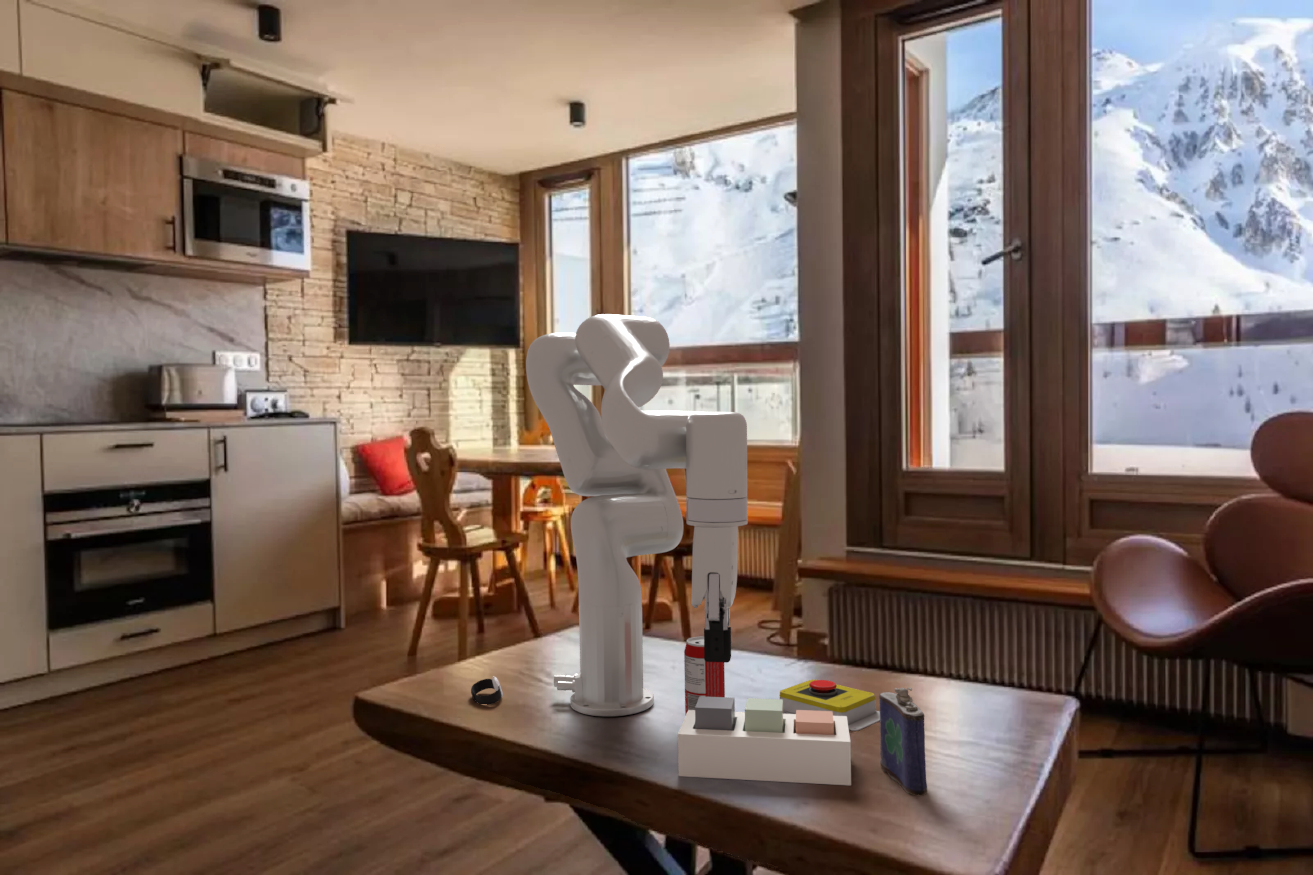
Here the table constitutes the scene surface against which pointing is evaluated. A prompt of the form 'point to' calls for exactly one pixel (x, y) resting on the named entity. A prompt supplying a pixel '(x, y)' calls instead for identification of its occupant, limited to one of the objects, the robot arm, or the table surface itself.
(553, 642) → the table surface
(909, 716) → the flask
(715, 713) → the charcoal key
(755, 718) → the sage key
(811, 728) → the terracotta key
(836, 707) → the emergency button
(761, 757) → the key block
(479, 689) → the watch
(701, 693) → the soda can
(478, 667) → the table surface
